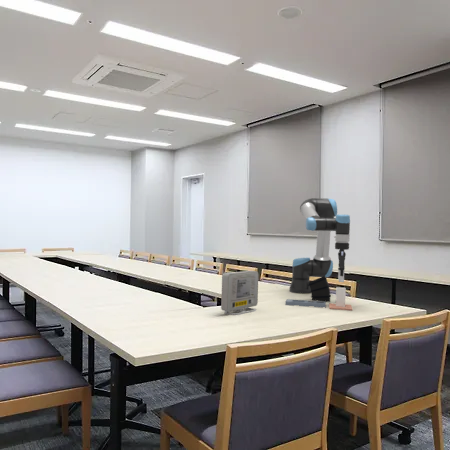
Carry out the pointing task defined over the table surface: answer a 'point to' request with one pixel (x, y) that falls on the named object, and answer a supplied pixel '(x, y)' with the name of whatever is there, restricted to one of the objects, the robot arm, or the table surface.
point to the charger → (340, 296)
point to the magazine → (320, 289)
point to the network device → (239, 292)
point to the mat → (347, 307)
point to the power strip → (305, 303)
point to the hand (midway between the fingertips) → (341, 280)
